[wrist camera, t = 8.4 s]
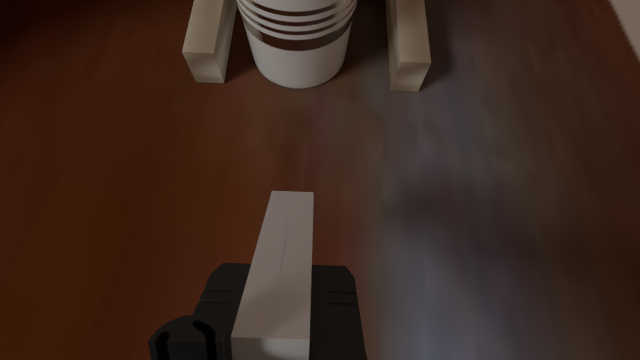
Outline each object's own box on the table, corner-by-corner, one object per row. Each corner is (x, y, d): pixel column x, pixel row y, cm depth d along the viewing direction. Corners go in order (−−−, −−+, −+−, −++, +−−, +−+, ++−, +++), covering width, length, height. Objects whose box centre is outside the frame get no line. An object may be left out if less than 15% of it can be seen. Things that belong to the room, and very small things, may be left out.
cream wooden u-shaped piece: (182, 81, 25) (163, 45, 22) (206, -26, 29) (193, -69, 26) (431, 92, 25) (449, 58, 22) (419, -16, 30) (433, -58, 26)
